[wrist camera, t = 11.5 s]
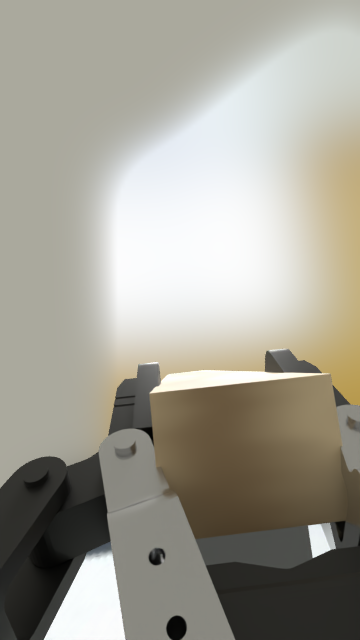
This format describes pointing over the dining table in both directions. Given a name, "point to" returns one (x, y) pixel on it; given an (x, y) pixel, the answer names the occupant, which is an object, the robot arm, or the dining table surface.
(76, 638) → the dining table surface
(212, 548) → the stand
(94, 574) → the dining table surface
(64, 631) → the dining table surface
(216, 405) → the block
